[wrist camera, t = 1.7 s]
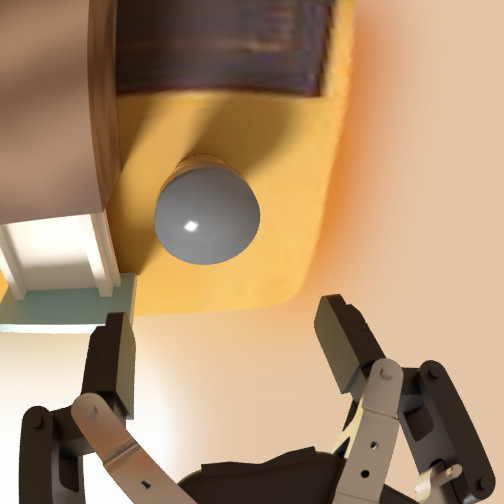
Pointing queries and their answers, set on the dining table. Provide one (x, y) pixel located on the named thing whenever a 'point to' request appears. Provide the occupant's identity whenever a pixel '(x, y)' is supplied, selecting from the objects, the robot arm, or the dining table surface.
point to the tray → (62, 276)
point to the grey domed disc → (206, 213)
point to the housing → (57, 108)
